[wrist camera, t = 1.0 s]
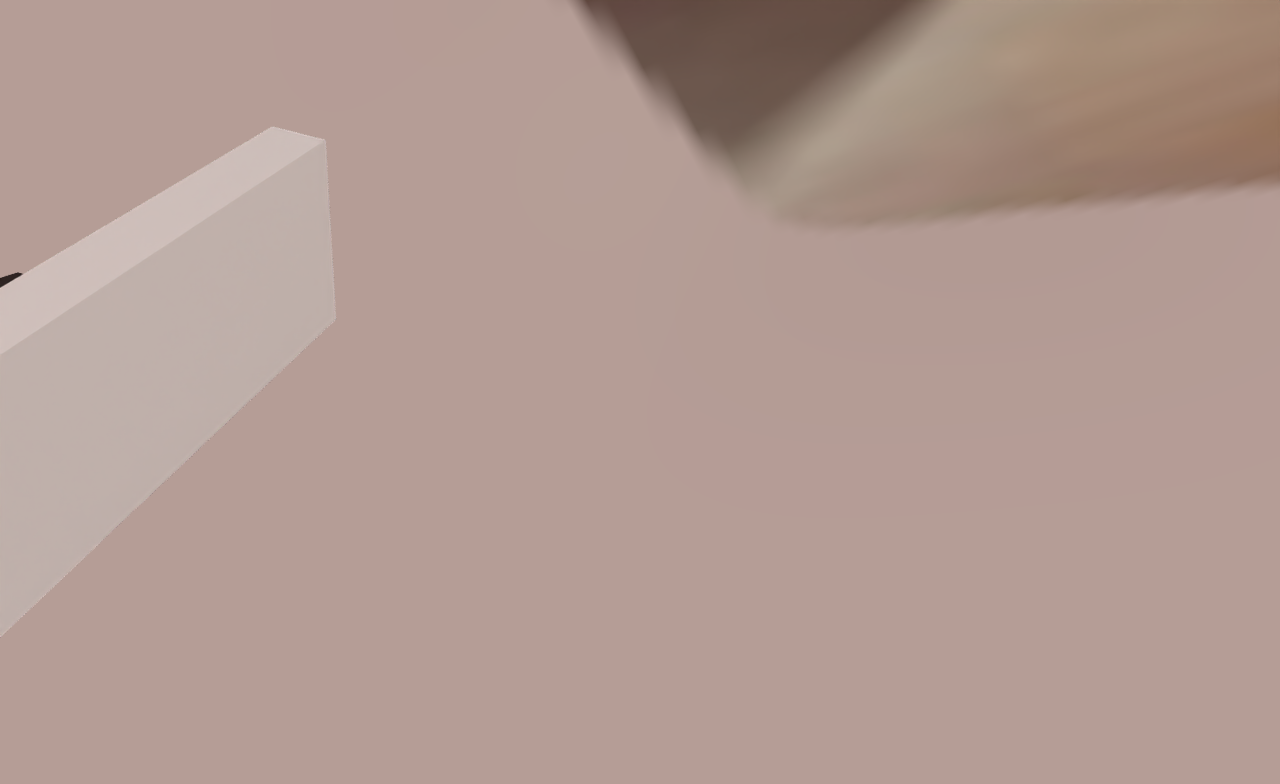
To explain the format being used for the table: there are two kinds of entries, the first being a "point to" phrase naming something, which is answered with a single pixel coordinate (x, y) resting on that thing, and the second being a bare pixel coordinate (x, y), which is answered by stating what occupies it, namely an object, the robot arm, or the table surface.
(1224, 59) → the table surface
